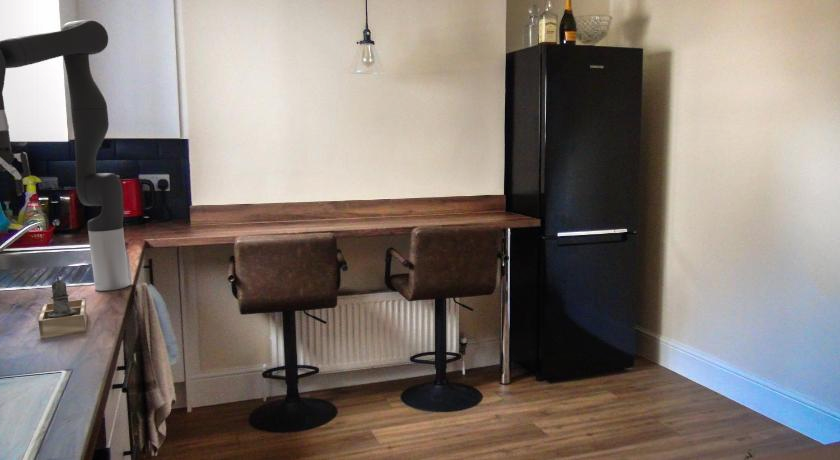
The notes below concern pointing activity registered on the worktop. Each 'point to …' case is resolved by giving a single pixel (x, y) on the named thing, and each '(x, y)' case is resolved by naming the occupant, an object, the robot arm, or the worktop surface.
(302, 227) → the worktop surface
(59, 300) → the grey stone statue
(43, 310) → the caddy
